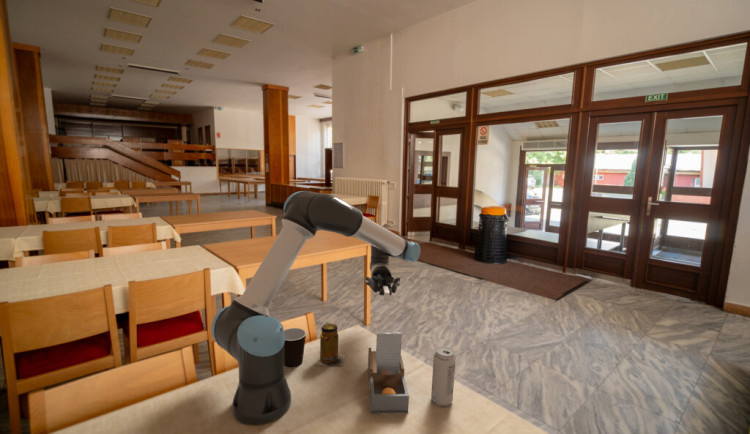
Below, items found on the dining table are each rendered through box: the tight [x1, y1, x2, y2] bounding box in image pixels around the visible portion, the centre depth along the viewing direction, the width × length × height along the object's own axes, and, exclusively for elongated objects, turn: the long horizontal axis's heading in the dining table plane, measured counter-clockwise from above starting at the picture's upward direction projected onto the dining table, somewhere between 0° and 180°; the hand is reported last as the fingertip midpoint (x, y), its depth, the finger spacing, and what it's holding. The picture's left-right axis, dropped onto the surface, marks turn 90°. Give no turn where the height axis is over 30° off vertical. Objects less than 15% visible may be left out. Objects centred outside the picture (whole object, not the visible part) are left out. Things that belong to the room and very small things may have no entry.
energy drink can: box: [430, 346, 457, 407], centre depth 98 cm, size 6×6×15 cm
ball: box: [382, 387, 396, 394], centre depth 96 cm, size 4×4×4 cm
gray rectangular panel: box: [375, 331, 403, 375], centre depth 99 cm, size 7×1×13 cm, turn 94°
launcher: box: [367, 347, 405, 392], centre depth 107 cm, size 10×12×7 cm
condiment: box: [316, 323, 346, 367], centre depth 116 cm, size 7×8×12 cm
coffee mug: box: [284, 327, 307, 369], centre depth 116 cm, size 12×9×10 cm
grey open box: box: [369, 375, 410, 414], centre depth 97 cm, size 10×9×5 cm
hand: (387, 296), depth 110 cm, fingers closed
